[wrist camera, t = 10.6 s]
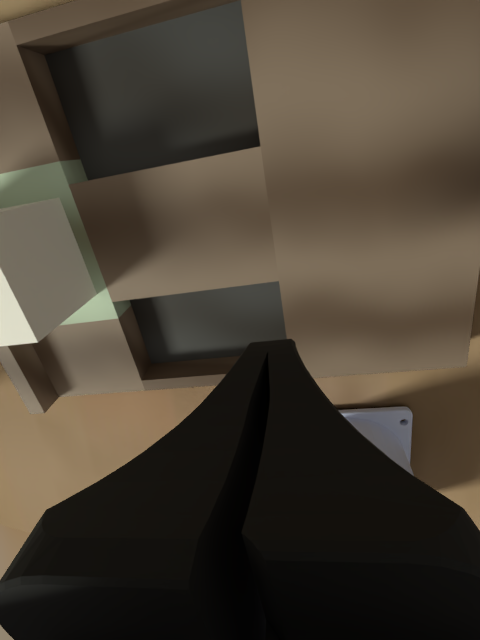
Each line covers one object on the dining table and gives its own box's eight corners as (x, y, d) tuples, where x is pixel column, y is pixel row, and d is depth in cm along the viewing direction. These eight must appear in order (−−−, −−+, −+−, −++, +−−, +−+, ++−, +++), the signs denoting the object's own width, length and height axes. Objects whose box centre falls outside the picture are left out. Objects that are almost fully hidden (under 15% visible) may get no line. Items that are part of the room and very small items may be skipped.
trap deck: (450, 346, 20) (480, 384, 17) (62, 379, 24) (30, 413, 21) (497, -99, 12) (572, -183, 9) (-89, 73, 16) (-176, 57, 13)
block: (96, 294, 18) (37, 342, 14) (16, 304, 19) (-63, 353, 15) (59, 197, 16) (-25, 218, 12) (-30, 214, 17) (-138, 239, 13)
